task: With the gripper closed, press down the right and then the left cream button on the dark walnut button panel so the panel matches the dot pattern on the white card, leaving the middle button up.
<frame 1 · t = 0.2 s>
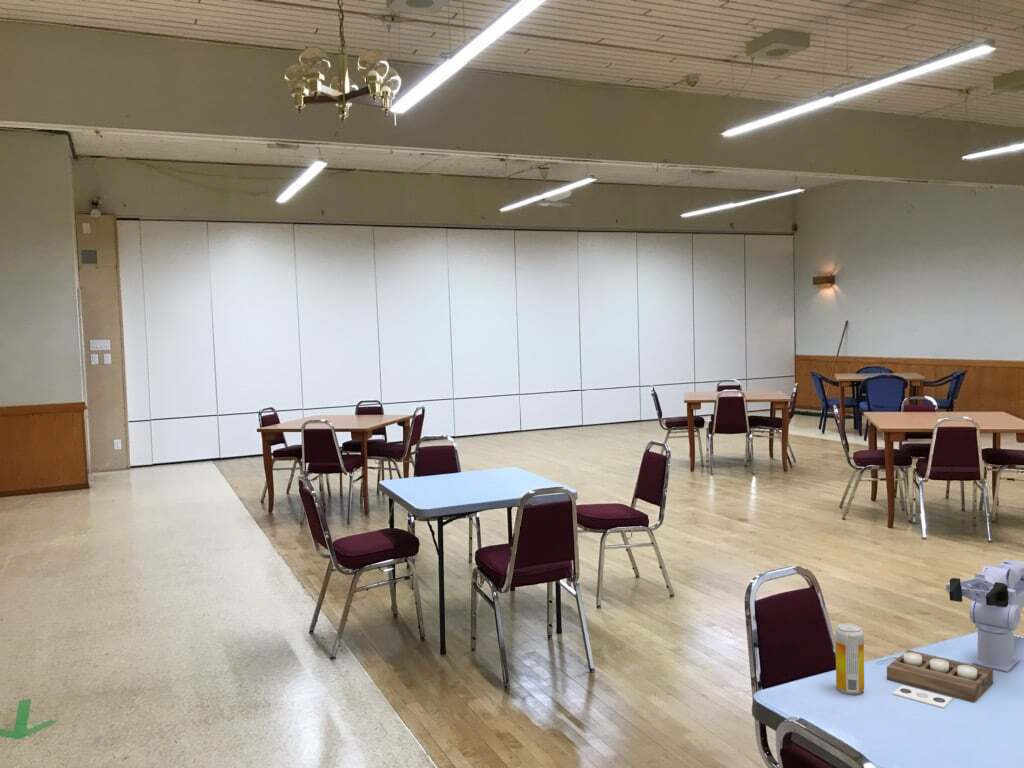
hand: (969, 598, 187), 21 cm above the table, tool horizontal, fingers open, 7 cm apart
right button: (967, 673, 188), point 3 cm above the table, slide at 0.0 cm
button panel: (939, 681, 192), on the table
left button: (912, 660, 196), point 3 cm above the table, slide at 0.0 cm
beer can: (850, 691, 189), on the table
middle button: (939, 666, 192), point 3 cm above the table, slide at 0.0 cm
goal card: (922, 696, 184), on the table
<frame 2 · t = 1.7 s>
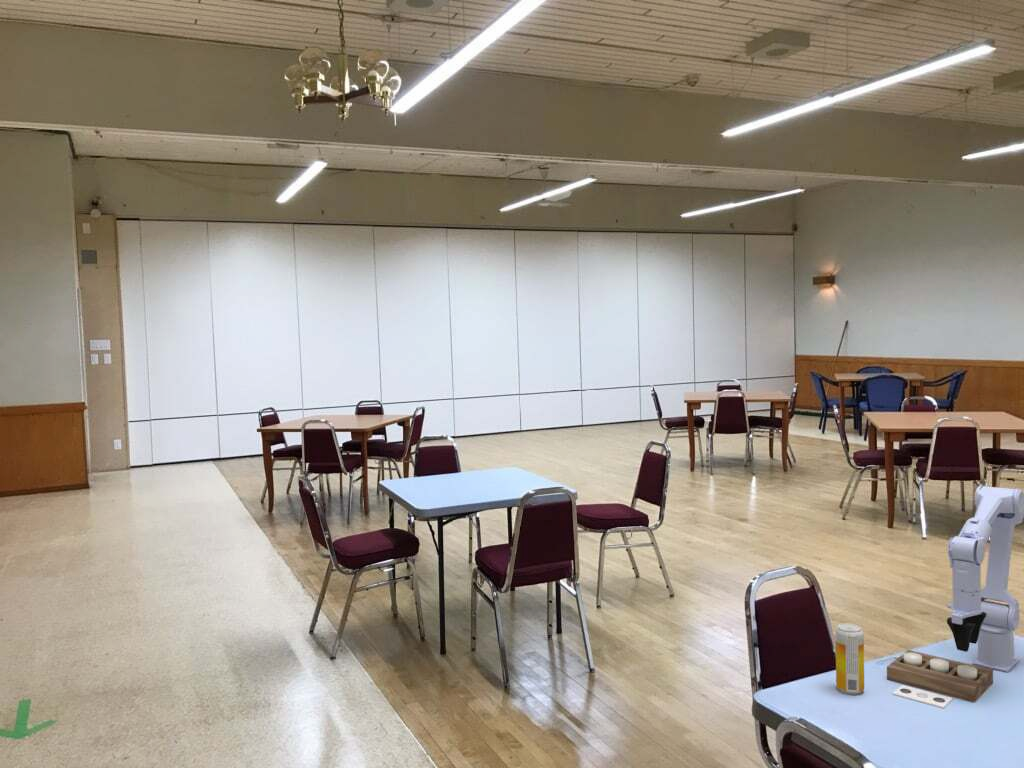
hand: (966, 646, 187), 10 cm above the table, tool pointing down, fingers open, 6 cm apart
nothing on the table moved.
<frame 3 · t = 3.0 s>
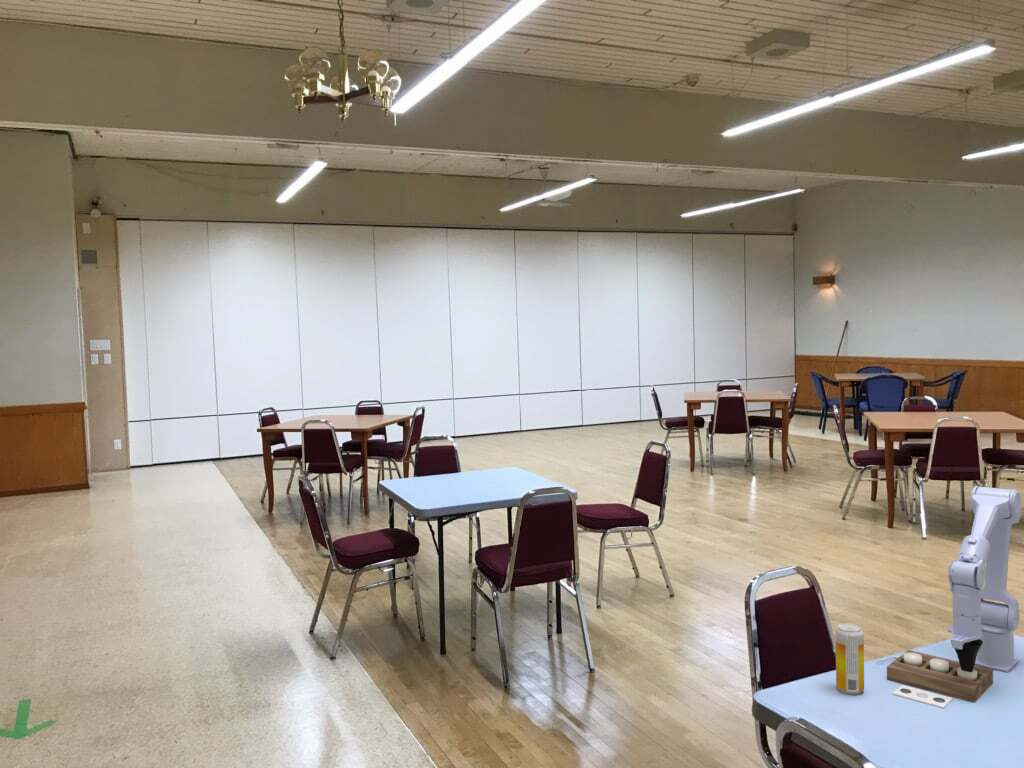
hand: (967, 670, 188), 4 cm above the table, tool pointing down, fingers closed, pressing on right button
right button: (967, 675, 188), point 3 cm above the table, slide at 0.5 cm, touching gripper
everything else where it was.
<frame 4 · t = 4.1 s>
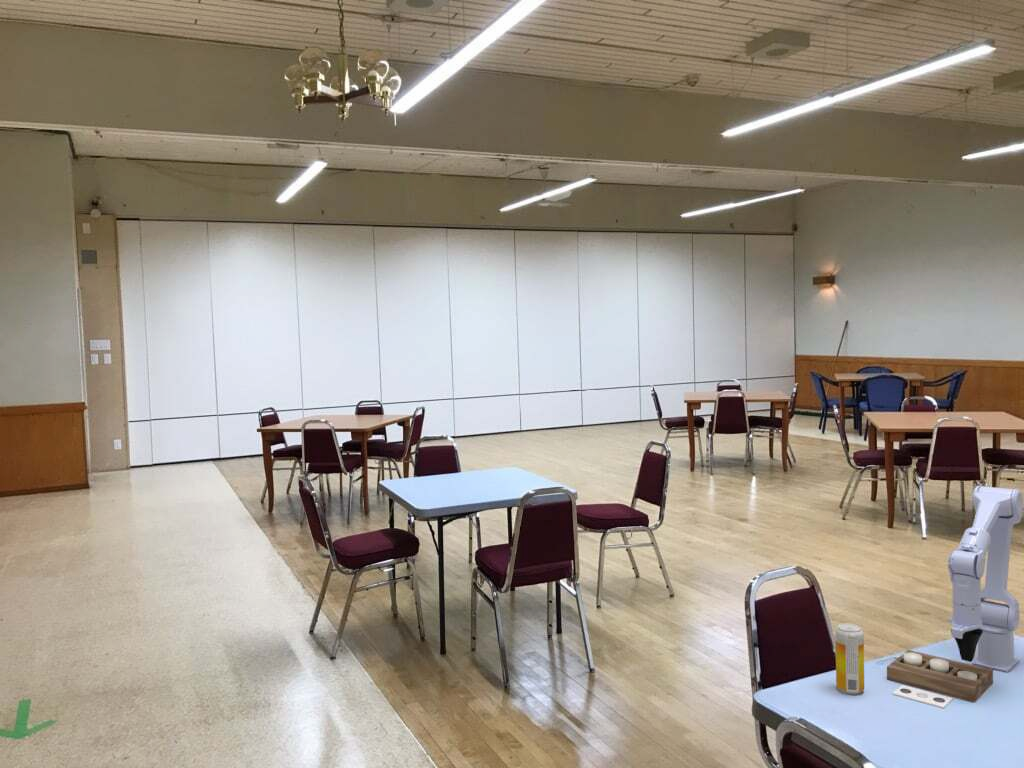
hand: (967, 660, 187), 7 cm above the table, tool pointing down, fingers closed
right button: (967, 679, 188), point 2 cm above the table, slide at 1.4 cm
everything else where it was.
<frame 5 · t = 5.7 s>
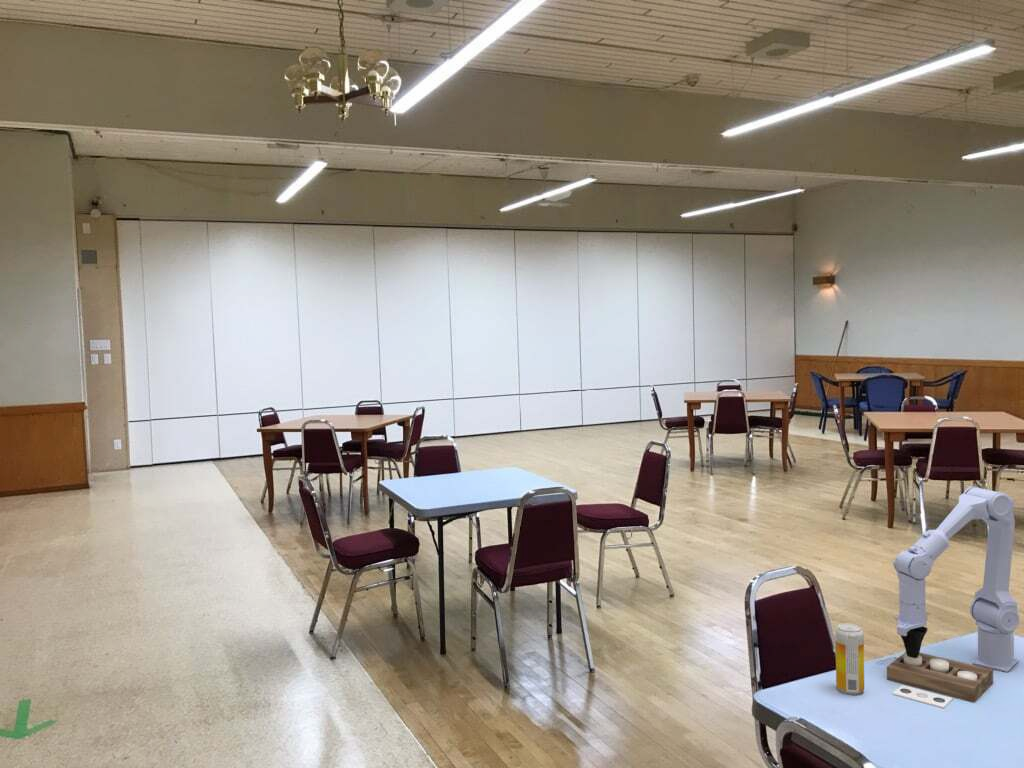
hand: (912, 656, 196), 4 cm above the table, tool pointing down, fingers closed, pressing on left button
left button: (912, 661, 196), point 3 cm above the table, slide at 0.3 cm, touching gripper
everything else where it was.
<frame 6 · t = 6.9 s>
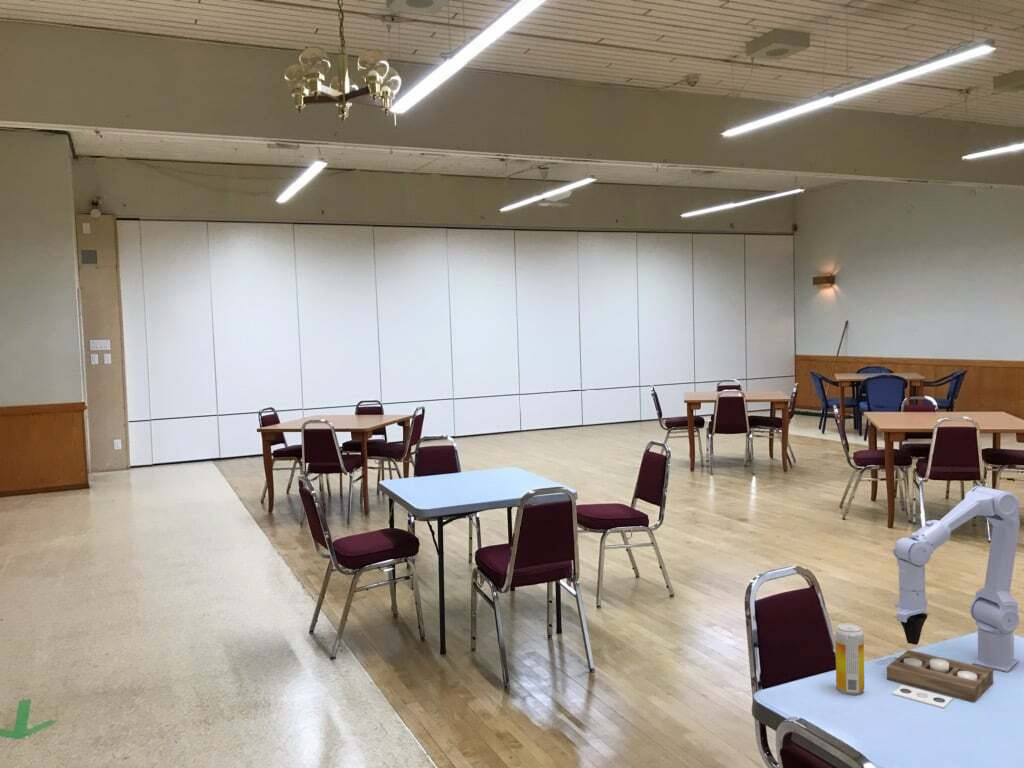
hand: (912, 643, 196), 8 cm above the table, tool pointing down, fingers closed
left button: (912, 666, 196), point 2 cm above the table, slide at 1.4 cm
everything else where it was.
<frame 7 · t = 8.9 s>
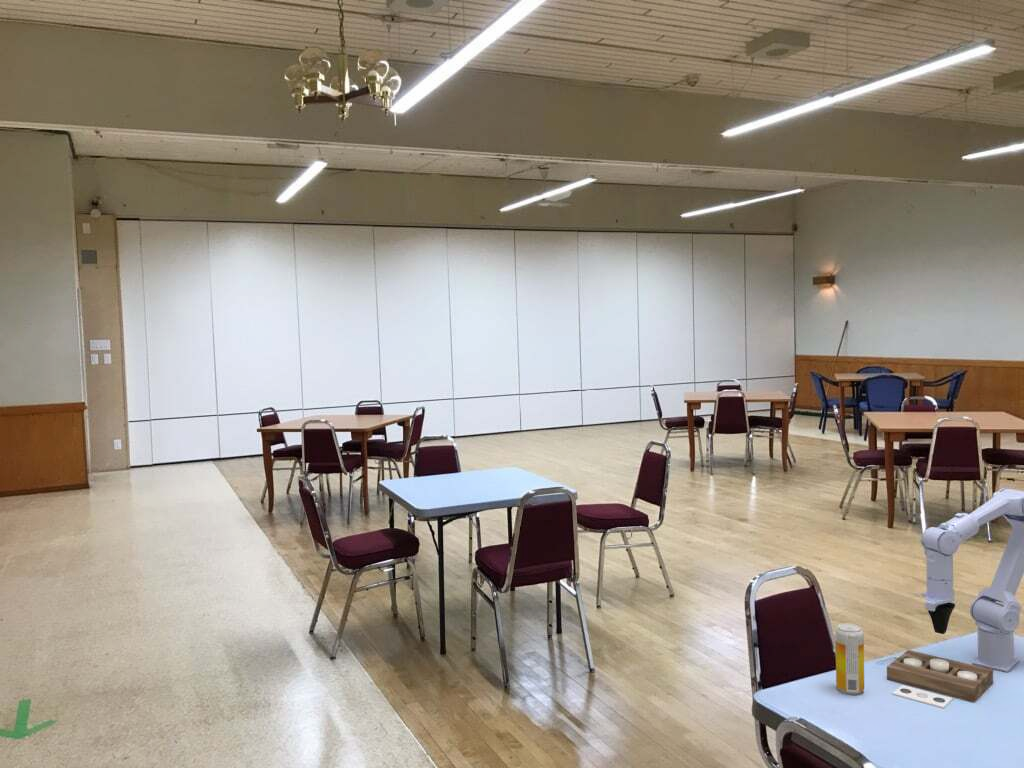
hand: (940, 632, 196), 10 cm above the table, tool pointing down, fingers closed
nothing on the table moved.
at the end: right button slide at 1.4 cm; left button slide at 1.4 cm; middle button slide at 0.0 cm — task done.
